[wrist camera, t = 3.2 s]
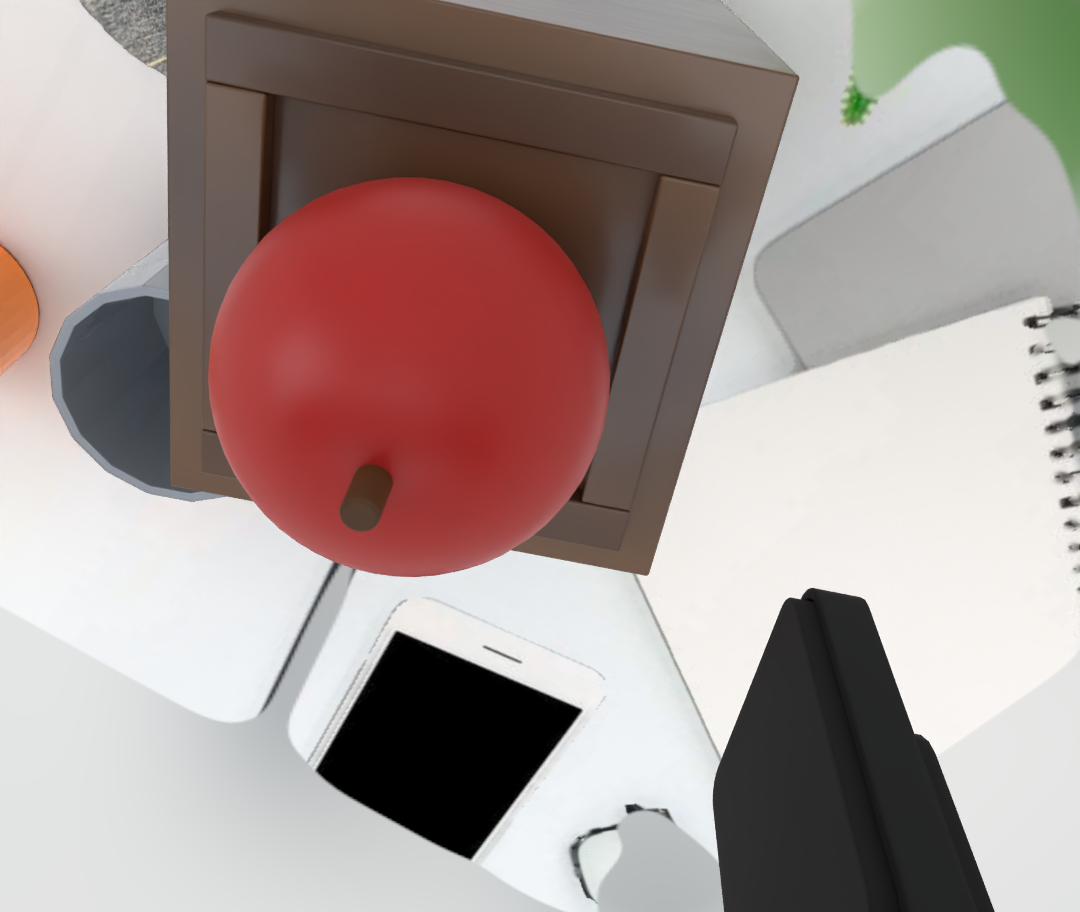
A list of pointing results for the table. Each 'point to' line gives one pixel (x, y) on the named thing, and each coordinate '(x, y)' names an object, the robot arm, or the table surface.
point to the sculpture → (135, 27)
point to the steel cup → (122, 378)
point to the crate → (489, 187)
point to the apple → (409, 376)
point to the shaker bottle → (15, 311)
